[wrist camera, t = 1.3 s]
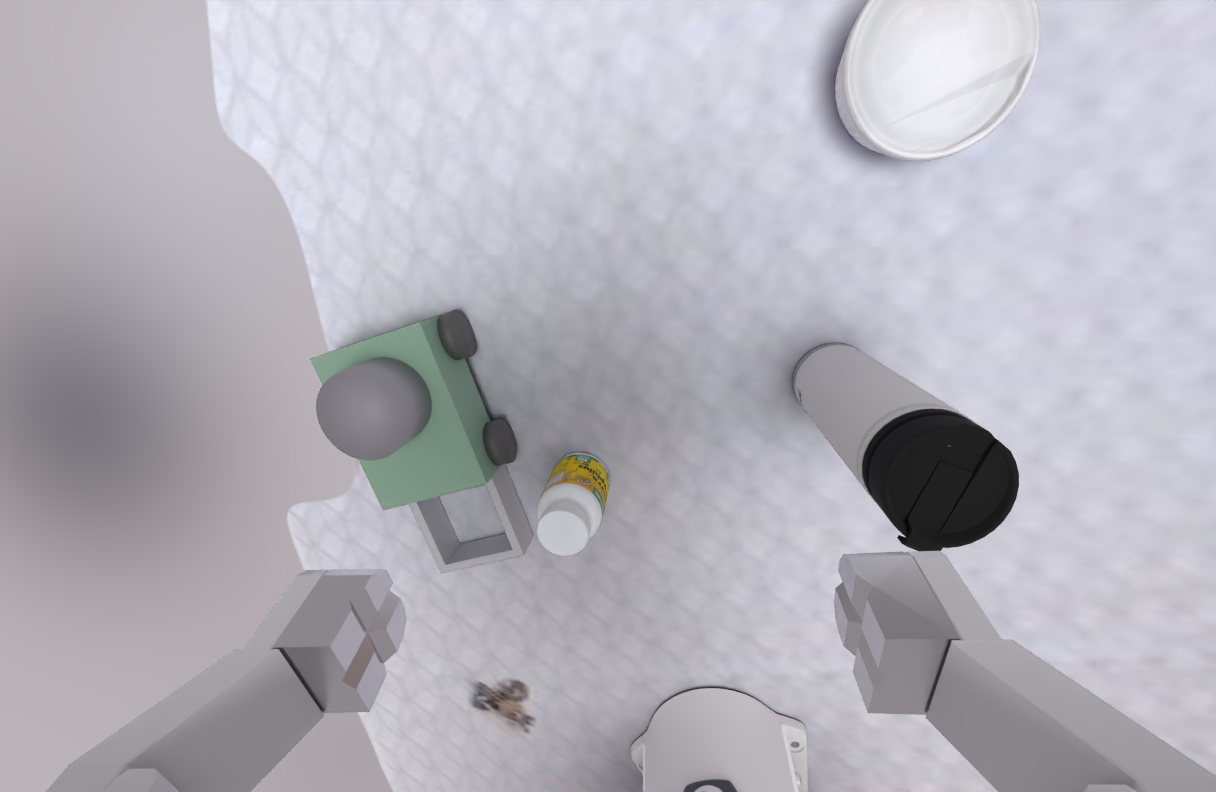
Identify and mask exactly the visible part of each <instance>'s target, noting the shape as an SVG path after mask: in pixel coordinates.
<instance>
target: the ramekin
mask: <svg viewBox="0 0 1216 792" xmlns="http://www.w3.org/2000/svg"><path fill="white" fill-rule="evenodd" d="M1040 36H1041V30H1040V15H1039V10H1038V6H1037V2H1036V0H868V1H867V3H866V4H865V5H864V7H863V8H862V10H861V12H860V13H859V15H858V17H857V19H856V21H855V23H854V25H853V27H852V29H851V31H850V34H849V36H848V39H847V42H846V45H845V49H844V52H843V55H842V57H841V62H840V64H839V67H838V72H837V76H836V85H835V91H836V95H835V98H836V103H837V109H838V112H839V115H840V118H841V120H842V122H843V124H844V126H845V128H846V129H847V130H848V132H849V134H850V135H852V136H853V137H854V139H855V140H856V141H858V142H859V143H860V144H861V145H862V146H865V147H867V148H868V149H870V150H874V151H876V152H877V153H882V154H884V155H886V156H889V157H892V158H895V159H899V160H904V161H929V160H935V159H940V158H943V157H947V156H950V155H953V154H955V153H958V152H960V151H962V150H965V149H967V148H969V147H970V146H972V145H974V144H976V143H977V142H979V141H980V140H982V139H983V138H985V137H986V136H987V135H989V134H990V133H991V132H992V131H993V130H995V129H996V128H997V127H998V126H999V125H1000V124H1001V123H1002V122H1003V121H1004V119H1005V118H1006V117H1007V116H1008V115H1009V113H1010V112H1011V111H1012V110H1013V108H1014V107H1015V106H1016V104H1017V103H1018V101H1019V100H1020V98H1021V97H1022V95H1023V93H1024V91H1025V90H1026V88H1027V86H1028V84H1029V82H1030V80H1031V77H1032V74H1033V72H1034V69H1035V66H1036V62H1037V58H1038V53H1039V47H1040Z"/></svg>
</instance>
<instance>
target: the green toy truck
mask: <svg viewBox="0 0 1216 792" xmlns="http://www.w3.org/2000/svg"><path fill="white" fill-rule="evenodd" d="M475 351H476V340H475V336H474V332H473V329H472V327H471V325H470V323H469V321H468V319H467V318H466V317H465V315H464V314H463V313H462V312H460V311H458V310H454V311H451V312H448V313H445V314H442V315H439V316H436V317H433V318H430V319H427V320H424V321H421V322H418V323H415V324H412V325H409V326H406V327H403V328H400V329H397V330H394V331H391V332H388V333H385V334H382V335H379V336H376V337H373V338H370V339H367V340H364V341H361V342H358V343H355V344H352V345H349V346H346V347H343V348H340V349H337V350H334V351H331V352H328V353H325V354H323V355H320V356H317V357H314V358H311V359H310V360H311V362H312V364H313V366H314V368H315V370H316V372H317V374H318V376H319V378H320V380H321V382H322V384H323V385H322V387H321V389H320V391H319V393H318V397H317V403H316V410H317V417H318V421H319V424H320V426H321V428H322V430H323V432H324V433H325V435H326V436H327V438H328V439H329V440H330V441H331V443H332V444H333V445H334V446H336V447H337V448H338V449H339V450H341V451H342V452H344V453H345V454H347V455H349V456H351V457H354V458H357V459H359V461H360V463H361V465H362V467H363V469H364V472H365V474H366V476H367V478H368V480H369V482H370V484H371V486H372V488H373V490H374V492H375V494H376V496H377V499H378V501H379V503H380V505H381V507H382V509H383V510H387V509H391V508H394V507H398V506H402V505H406V504H409V506H410V508H411V510H412V512H413V514H414V516H415V519H416V521H417V523H418V525H419V527H420V529H421V531H422V534H423V536H424V538H425V540H426V542H427V544H428V546H429V549H430V551H431V553H432V555H433V557H434V559H435V561H436V564H437V566H438V568H439V570H440V572H441V574H442V573H447V572H451V571H456V570H460V569H465V568H469V567H474V566H478V565H483V564H487V563H492V562H496V561H501V560H505V559H510V558H514V557H519V556H523V555H524V554H525V552H526V550H527V547H528V545H529V543H530V541H531V539H532V537H533V532H532V529H531V527H530V524H529V522H528V519H527V517H526V515H525V512H524V510H523V507H522V505H521V502H520V500H519V497H518V495H517V492H516V490H515V487H514V485H513V482H512V480H511V477H510V475H509V472H508V470H507V467H506V465H505V464H507V463H511V462H513V461H514V460H515V458H516V441H515V437H514V434H513V431H512V429H511V427H510V425H509V424H508V423H507V421H506V420H504V419H502V418H501V419H497V420H493V421H490V419H489V417H488V414H487V412H486V409H485V407H484V404H483V402H482V399H481V397H480V394H479V392H478V389H477V387H476V384H475V382H474V379H473V377H472V374H471V372H470V369H469V367H468V364H467V362H466V359H465V358H467V357H470V356H473V355H474V353H475ZM481 485H486V487H487V489H488V492H489V494H490V497H491V499H492V501H493V504H494V506H495V508H496V511H497V513H498V516H499V518H500V520H501V523H502V525H503V528H504V530H505V532H506V533H505V534H500V535H496V536H492V537H487V538H483V539H479V540H474V541H470V542H466V543H461V544H460V543H459V541H458V539H457V536H456V534H455V532H454V530H453V528H452V525H451V523H450V521H449V519H448V516H447V514H446V512H445V510H444V507H443V505H442V503H441V501H440V498H439V496H441V495H445V494H449V493H453V492H457V491H461V490H465V489H469V488H473V487H477V486H481Z"/></svg>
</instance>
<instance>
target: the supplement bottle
mask: <svg viewBox="0 0 1216 792" xmlns="http://www.w3.org/2000/svg"><path fill="white" fill-rule="evenodd" d="M609 484H610V476H609V472H608V469H607V468H606V466H605V465H604V463H603V462H602V461H601V460H599V459H598V458H597V457H595V456H593V455H590V454H586V453H571V454H568V455H566V456H565V457H563V458H562V459H561V460H560V461H559V462H558V463H557V465H556V466H555V468H554V470H553V472H552V474H551V476H550V478H549V481H548V483H547V485H546V487H545V489H544V491H543V493H542V495H541V497H540V500H539V502H538V505H537V519H538V522H539V523H538V526H537V535H538V538H539V541H540V542H541V544H542V545H543V546H544V548H546V549H547V550H548V551H550V552H551V553H554V554H556V555H561V556H569V555H574V554H576V553H578V552H580V551H581V550H582V549H583V548H584V547H585V545H586V543H587V541H588V539H589V538H591V537H592V536H593V535H594V534H595V533H596V532H597V530H598V528H599V526H600V524H601V520H602V516H603V512H604V508H605V503H606V498H607V494H608V490H609Z"/></svg>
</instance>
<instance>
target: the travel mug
mask: <svg viewBox="0 0 1216 792" xmlns="http://www.w3.org/2000/svg"><path fill="white" fill-rule="evenodd" d="M792 385H793V391H794V394H795V397H796V398H797V400H798V402H799V403H800V404H801V406H802V407H803V408H804V410H805V411H806V412H807V414H808V415H809V416H810V418H811V419H812V420H813V422H814V423H815V424H816V425H817V427H818V428H819V429H820V431H821V432H822V433H823V435H824V436H825V437H826V439H827V440H828V441H829V443H830V444H831V445H832V447H833V448H834V449H835V451H836V452H837V453H838V454H839V456H840V457H841V458H842V460H843V461H844V462H845V464H846V465H847V466H848V468H849V469H850V470H851V472H852V473H853V474H854V476H855V477H856V478H857V480H858V481H859V482H860V484H861V485H862V486H863V487H864V489H865V490H866V491H867V493H868V494H869V495H870V496H871V497H872V499H873V500H874V501H875V502H876V503H877V504H878V505H879V507H880V508H881V509H882V511H883V512H884V513H885V514H886V516H887V517H888V518H889V520H890V521H891V522H892V523H893V525H894V526H895V527H896V528H897V529H898V530H899V531H900V532H901V533H902V534H903V535H904V536H905V537H906V538H905V537H902V536H900V535H899V536H898V537H897V538H898V539H899V540H900V542H901V543H902V544H904V545H905V546H907V547H909V548H912V549H914V550H917V551H941V549H942V548H950V547H959V546H963V545H967V544H970V543H973V542H975V541H977V540H979V539H981V538H983V537H985V536H986V535H988V534H989V533H991V532H992V531H994V530H995V529H996V528H997V527H998V526H999V525H1000V524H1001V523H1002V522H1003V521H1004V519H1005V518H1006V517H1007V515H1008V514H1009V512H1010V511H1011V509H1012V507H1013V504H1014V502H1015V500H1016V497H1017V492H1018V487H1019V473H1018V469H1017V464H1016V461H1015V459H1014V457H1013V455H1012V453H1011V451H1010V450H1009V449H1007V448H1006V447H1005V446H1004V445H1003V444H1002V443H1001V442H999V441H998V440H997V439H995V438H994V437H993V435H992V434H991V433H990V432H989V431H987V430H985V429H984V428H982V427H981V426H979V425H977V424H976V423H975V422H973V421H972V420H971V419H969V418H968V417H967V416H965V415H964V414H962V413H960V412H959V411H957V410H956V409H954V408H952V407H951V406H949V405H947V404H946V403H944V402H943V401H941V400H939V399H938V398H936V397H934V396H933V395H931V394H930V393H928V392H926V391H925V390H923V389H921V388H920V387H918V386H917V385H915V384H913V383H912V382H910V381H908V380H907V379H905V378H904V377H902V376H900V375H899V374H897V373H895V372H894V371H892V370H891V369H889V368H887V367H886V366H884V365H882V364H881V363H879V362H878V361H876V360H874V359H873V358H871V357H869V356H868V355H866V354H865V353H863V352H861V351H860V350H858V349H857V348H854V347H852V346H850V345H847V344H843V343H828V344H824V345H821V346H818V347H816V348H814V349H812V350H811V351H809V352H808V353H807V354H805V355H804V357H803V358H802V359H801V360H800V361H799V363H798V365H797V366H796V368H795V371H794V374H793V380H792Z"/></svg>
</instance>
